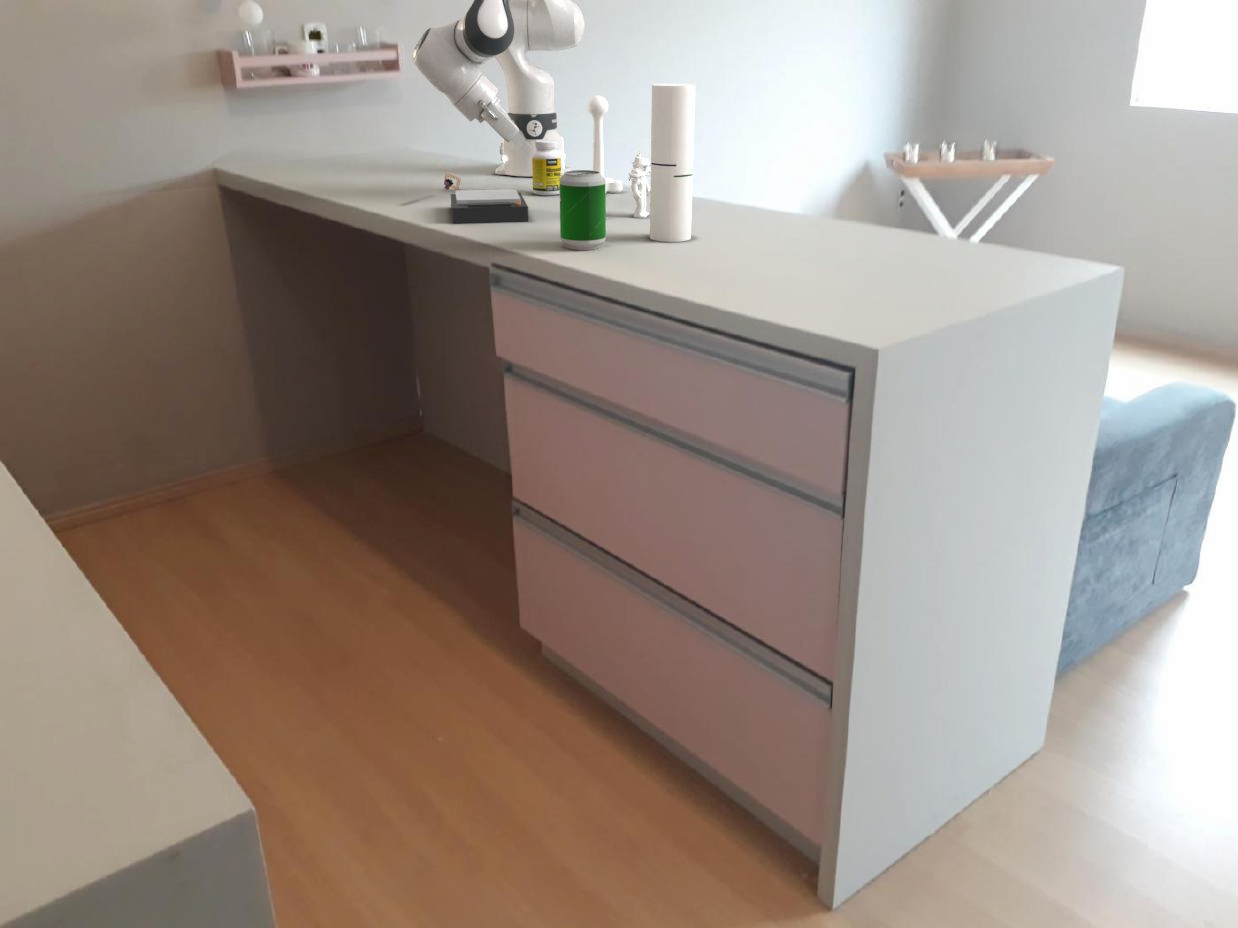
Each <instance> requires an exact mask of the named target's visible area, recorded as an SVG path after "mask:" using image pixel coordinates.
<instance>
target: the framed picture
mask: <svg viewBox="0 0 1238 928" xmlns="http://www.w3.org/2000/svg"><path fill="white" fill-rule="evenodd" d="M452 179H453V180H456V184H455V185H454V182H453V180H452ZM460 185H461V178H460V177H458V176H454V175H452V174H449V173H447V172H446V173H445V176H444V182H443V186H444V187H443V189H445V190H446V191H448V190H450V188H452V189H455V190H456V191H457V190H460Z"/></svg>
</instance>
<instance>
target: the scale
mask: <svg viewBox="0 0 1238 928" xmlns="http://www.w3.org/2000/svg"><path fill="white" fill-rule="evenodd" d="M450 209H451V217H452V223H453V224H481V223H482V224H483V223H511V222H512V223H515V222H516V223H517V222H521V223H522V222H529V206H528V204H527V202H526V200H525V199H524V197H523V194H522V192H518V191H517V189H516V188H507V189H502V188H501V189H464V190H462V189H461V190H460V189H459V190H457V189H456V190H455V193H450Z"/></svg>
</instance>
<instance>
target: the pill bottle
mask: <svg viewBox="0 0 1238 928" xmlns="http://www.w3.org/2000/svg"><path fill="white" fill-rule="evenodd" d="M535 148H537V150H536V151H535V152H534V153H533V155H532V174H533V177H532V193H533V194H534V195H538V196H546V197H547V196H558V195H560V186H559V179H560V178H561V177H562V174H561V155H560V153H559V152H557V151H556V148H557V141H555V140H537V141H535Z"/></svg>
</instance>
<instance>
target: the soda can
mask: <svg viewBox="0 0 1238 928" xmlns="http://www.w3.org/2000/svg"><path fill="white" fill-rule="evenodd" d="M605 178H606V177H605V176H604V177H603V176H602V175H601V174H600V172H598V171H593V169H575V170H573V169H572V171H566V172H564V174H562V175H561V178H560V179H559V186H560V194H559V231H560V233H559V234H560V237H559V238H560V241H561V243H562V244H563V245H565V248H566V249H569V250H574V251H575V250H577V251H591V250H597V249H599V248H601V247H602V245H603V244H604V243H605V242H606V239H607V234H606V233H607V232H606V230H607V229H606V227H607V226H606V223H607V222H606V221H607V219H606V218H607V215H606V213H607V212H606V211H607V210H606V208H607V207H606V206H607V205H606V201H607V200H606V199H607V198H606V197H607V195H606V194H607V192H606V180H605Z"/></svg>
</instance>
